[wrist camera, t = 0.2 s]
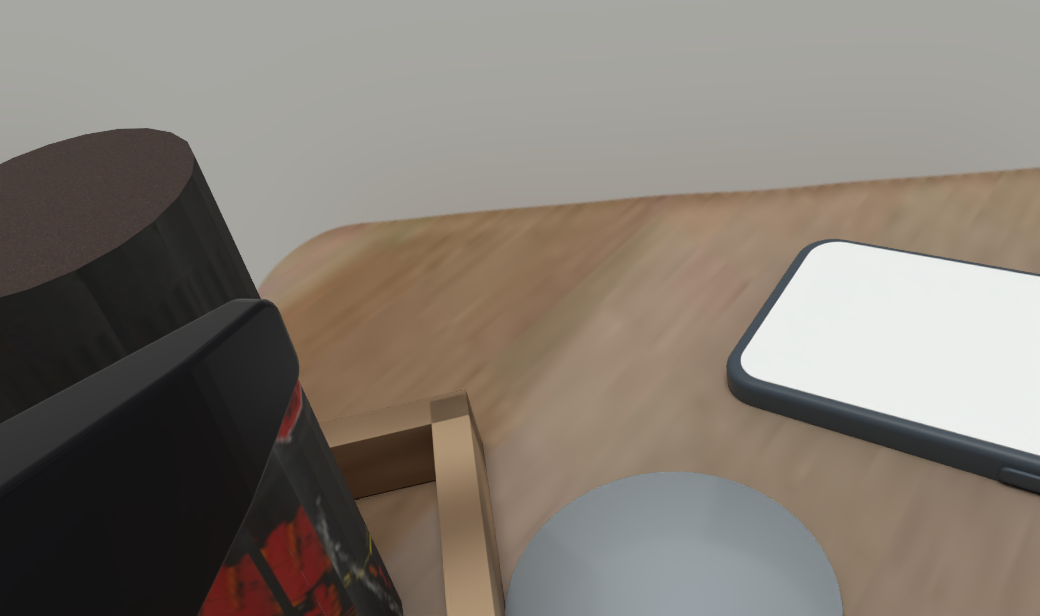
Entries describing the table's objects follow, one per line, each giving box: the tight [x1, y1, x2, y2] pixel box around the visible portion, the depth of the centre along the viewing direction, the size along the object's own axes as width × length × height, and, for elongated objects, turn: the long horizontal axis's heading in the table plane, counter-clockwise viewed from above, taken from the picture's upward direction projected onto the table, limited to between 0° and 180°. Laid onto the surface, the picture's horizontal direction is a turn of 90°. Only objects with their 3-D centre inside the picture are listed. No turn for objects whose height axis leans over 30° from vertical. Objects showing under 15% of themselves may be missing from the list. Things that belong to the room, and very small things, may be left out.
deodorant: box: [0, 128, 403, 616], centre depth 22 cm, size 6×6×15 cm
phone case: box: [726, 239, 1040, 493], centre depth 29 cm, size 9×2×16 cm
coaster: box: [505, 472, 843, 616], centre depth 25 cm, size 9×9×1 cm
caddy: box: [319, 389, 505, 616], centre depth 27 cm, size 11×12×2 cm
